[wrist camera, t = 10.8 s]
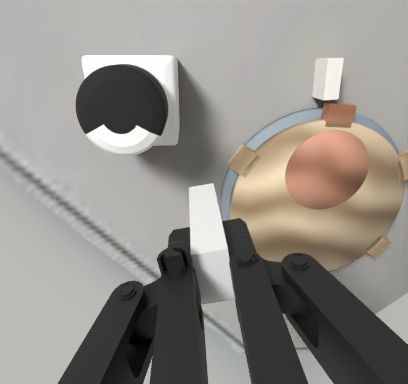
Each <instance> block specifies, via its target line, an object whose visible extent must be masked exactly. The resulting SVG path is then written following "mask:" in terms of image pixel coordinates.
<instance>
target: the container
mask: <svg viewBox="0 0 408 384" xmlns="http://www.w3.org/2000/svg"><path fill="white" fill-rule="evenodd" d="M82 66H83V72H84V78H85V80H84V81H83V82H82V84H81V86H80V88H79V90H78V93H77V97H76V113H77V118H78V121H79V124H80V126H81V128H82V130H83V131H84V133H85V134H86V135H87V137H88V138H89V139H90V140H91V141H92V142H93V143H94V144H95V145H97V146H98V147H99V148H101V149H103V150H105V151H107V152H109V153H112V154H116V155H122V156H130V155H136V154H140V153H142V152H145V151H146V150H148V149H150V148H151V147H152V146H164V145H176V144H177V143H178V138H179V129H180V115H179V86H178V60H177V57H176V56H171V55H85V56H83V57H82Z"/></svg>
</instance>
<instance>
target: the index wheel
mask: <svg viewBox="0 0 408 384" xmlns="http://www.w3.org/2000/svg"><path fill="white" fill-rule="evenodd" d="M356 107H357V106H355V105H352V104H342V103H324V105H323V110H322V114H321V118H320V119H315V120H309V121H305V122H302V123H298V124H295V125H293V126H290V127H288V128H286V129H284V130H282V131H280V132H278V133H276V134H275V135H273V136H272V137H270V138H269V139H268V140H266V141H265V142H263V143H262V144H261V145H260V146H259V147H258V148H257V149H256V150H255V151H254V150H252V149H251V148H249V147H248V146H246V145H245V144H243V143H242V144H241V146H240V147H239V148H238V150H237V151H236V152H235V154H234V155H233V157H232V158H231V159H230V161H229V162H228V166H229V168H230V169H232V170H234V171H235V172H237V173H238V175H237V177H236V179H235V182H234V185H233V188H232V191H231V197H230V208H229V211H230V220H231V219H237V218H241V219H242V220H243V221H244V222H246V224H247V227H248V230H249V233H250V235H251V238H252V241H253V244H254V246H255V249H256V252H257V253H258V254H259V255H260V257H261V258H263V259H265V260H268V261H273V262H282V260H283V258H284V257H285V256H287V255H289V254H292V253H304V254H307V255H310V256H311V257H313V258H314V259H315V260H316V261H318V262H319V263H320V264H321V265H322V266H323V267H324V268H325V269H326V270H327V271H328V272H330V271H333V270H335V269H338V268H341V267H343V266H345V265H347V264H349V263H351V262H353V261H355V260H356V259H358V258H360V257H361V256H362V255H364V254H365V253H368V254H370V255H371V256H373V257H374V258H376V257H377V256H378V255H379V254H380V253H381V252H382V251H383V250H384V249H385V248H386V247H388V246H389V245H390V244H391V242H390V241H389V240H388V239H387V238H386V237H384V235H385V234H386V232H387V231H388V230H389V228H390V227H391V225H392V223H393V222H394V220H395V218H396V216H397V214H398V212H399V209H400V206H401V203H402V199H403V194H404V181H406V180H408V150H406V151H403V152H401V153H399V154H397V153H396V151H395V150H394V148H393V147H392V146H391V144H390V143H389V142H388V141H387V140H386V139H385V138H384V137H383V136H381V135H380V134H378V133H377V132H375V131H374V130H372V129H369V128H367V127H365V126H363V125H360V124H358V123H355V122H352V121H353V118H354V114H355V111H356Z"/></svg>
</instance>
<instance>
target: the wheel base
mask: <svg viewBox="0 0 408 384" xmlns="http://www.w3.org/2000/svg"><path fill="white" fill-rule="evenodd" d="M343 60H344V58H321V59H316V63H315V74H314V84H313V95H312V97H314V98H317V99H320V100H336V99H338V98H339V90H340V83H341V75H342V67H343ZM322 110H323V108H314V109H307V110H302V111H299V112H295V113H291V114H289V115H287V116H284V117H282V118H279V119H278V120H276V121H274V122H272V123H271V124H269V125H267V126H266V127H264V128H263V129H262V130H260V131H259V132H258V133H256V134H255V135H254V136H253V137H252V138H251V139H250V140H249V141H248V142H247V143H246V144H245V145H246V146H248V147H249V148H251V149H252V150H254V151H255V150H256V149H257V148H258V147H259V146H260V145H261V144H262V143H263V142H265V141H266V140H268V139H269V138H270V137H272V136H273V135H275V134H276V133H278V132H280V131H282V130H284V129H286V128H288V127H290V126H293V125H295V124H298V123H302V122H305V121H309V120H315V119H320V118H321V114H322ZM352 122H355V123H358V124H360V125H363V126H365V127H367V128H369V129H372V130H374V131H375V132H377V133H378V134H380V135H381V136H383V137H384V138H385V139H386V140H387V141H388V142H389V143H390V144H391V146H392V147H393V148H394V150H395V151H396V153H397V154H399V152H398V150H397V148H396V146H395V143H394V142H393V140H392V139H391V138H390V136H389V135H388V133H387V132H386V131H385V130H383V129H382V128H381V127H380V126H379V125H378V124H376V123H375V122H373V121H372V120H371V119H369V118H366V117H364V116H362V115H360V114H357V113H355V114H354V118H353V121H352ZM237 175H238V173H237V172H235V171H234V170H232V169H230V168H229V169H228V171H227V174H226V177H225V180H224V183H223V187H222V193H221V212H222V218H223V221H225V220H230V211H229V208H230V197H231V191H232V188H233V185H234V182H235V179H236V177H237Z"/></svg>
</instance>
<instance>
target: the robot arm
mask: <svg viewBox="0 0 408 384" xmlns="http://www.w3.org/2000/svg"><path fill="white" fill-rule="evenodd" d="M189 207H190V227H188V228H182V229H176V230H173V231H172V233H171V234H170V236H169V241H168V243H169V244H168V248H167V249H165V250H163V251H162V252H161V253H160V254H159V255H158V257H157V261H158V265H159V268H160V271H161V277H160V278H159V279H158V280H156V281H154V282H152V283H150V284H148V285H145V286H143V284H142V283H140V282H137V281H128V282H126V283H123V284H121V285H120V286H118V287H117V288H116V289H115V290H114V291H113V292H112V294H111V296H110V297H109V299H108V300H107V302H106V304H105V306H104V307H103V309H102V310H101V312H100V314H99V316H98V317H97V319H96V321H95V322H94V324H93V325H92V327H91V329H90V330H89V332H88V334H87V336H86V337H85V339H84V341H83V342H82V344H81V346H80V347H79V349H78V351H77V352H76V354H75V356H74V357H73V359H72V361H71V362H70V364H69V366H68V367H67V369H66V371H65V372H64V374H63V376H62V377H61V379H60V381H59V382H58V384H143V382H144V379H145V376H146V373H147V370H148V367H149V364H150V362H151V358H152V356H153V358H152V368H151V376H150V384H208V376H207V362H206V348H205V333H204V319H203V311H202V307H201V303H202V304H207V303H213V302H219V301H225V300H232V299H235V301H236V308H237V314H238V320H239V323H240V328H241V333H242V338H243V343H244V348H245V353H246V357H247V363H248V367H249V373H250V378H251V383H252V384H308V382H307V379H306V376H305V374H304V371H303V368H302V366H301V363H300V360H299V357H298V355H297V352H296V349H295V347H294V344H293V341H292V339H291V336H290V333H289V331H288V328H287V325H286V323H285V320H284V317H283V315H282V313H283V314H285V315H286V317H287V319H288V320H289V322H290V323H291V324H292V326H293V327H294V329H295V330H296V331H297V333H298V334H299V336H300V337H301V338H302V340H303V341H304V343H305V344H306V345H307V347H308V348H309V350H310V351H311V352H312V354H313V355H314V357H315V358H316V359H317V361H318V362H319V364H320V365H321V366H322V368H323V369H324V371H325V372H326V373H327V375H328V376H329V378H330V379H331V380H332V382H333V383H334V384H408V344H406V343H405V342H404V341H403V340H402V339H401V338H400V337H399V336H398V335H397V334H395V333H394V332H393V331H392V330H391V329H390V328H389V327H388V326H387V325H386V324H385V323H384V322H383V321H381V320H380V319H379V318H378V317H377V316H376V315H375V314H374V313H373V312H372V311H371V310H370V309H368V308H367V307H366V306H365V305H364V304H363V303H362V302H361V301H360V300H359V299H358V298H357V297H355V296H354V295H353V294H352V293H351V292H350V291H349V290H348V289H347V288H346V287H345V286H344V285H342V284H341V283H340V282H339V281H338V280H337V279H336V278H335V277H334V276H333V275H332V274H331V273H329V272H328V271H327V270H326V269H325V268H324V267H323V266H322V265H321V264H320V263H319V262H318V261H316V260H315V259H314V258H313V257H311V256H310V255H307V254H304V253H292V254H289V255H287V256H285V257H284V258H283V260H282V262H273V261H268V260H265V259H263V258H261V257H260V255H259V254H258V253H257V252H256V249H255V246H254V244H253V241H252V238H251V235H250V233H249V230H248V227H247V224H246V222H244V221H243V220H242V219H241V218H237V219H231V220H225V221H222V220H221V215H220V211H219V206H218V202H217V197H216V193H215V188H214V184H213V183H211V184H205V185H200V186H194V187H189Z"/></svg>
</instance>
